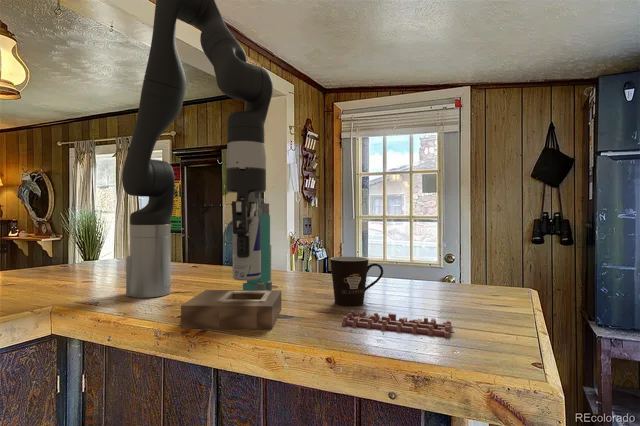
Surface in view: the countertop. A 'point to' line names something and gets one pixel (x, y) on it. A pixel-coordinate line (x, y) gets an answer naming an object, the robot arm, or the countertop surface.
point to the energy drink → (252, 264)
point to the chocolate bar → (397, 324)
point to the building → (263, 252)
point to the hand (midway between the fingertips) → (246, 255)
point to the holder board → (232, 309)
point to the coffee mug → (351, 279)
